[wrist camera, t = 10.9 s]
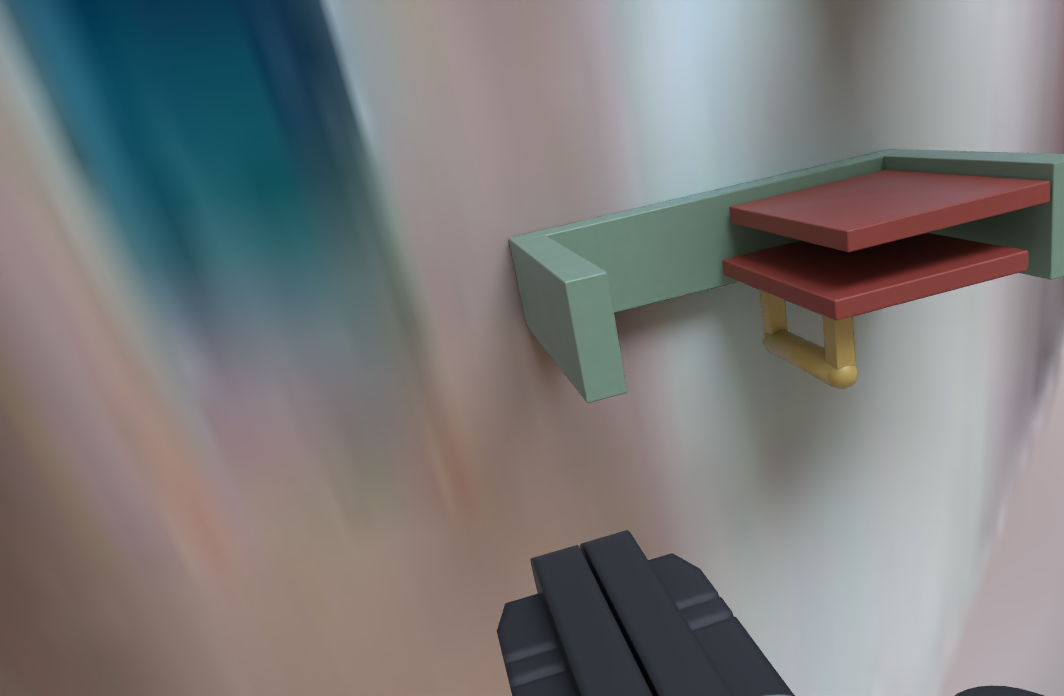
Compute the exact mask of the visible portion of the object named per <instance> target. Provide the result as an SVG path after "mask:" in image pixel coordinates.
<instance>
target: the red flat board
mask: <svg viewBox="0 0 1064 696" xmlns="http://www.w3.org/2000/svg"><path fill="white" fill-rule="evenodd" d="M722 263H723V272H724V275H725V276H727V277H730V278H732V279H735V280H737V281H740V282H742V283H745V284H747V285H749V286H752V287H754V288H757V289H759V290H760V297H761V307H762V317H763V326H764V331H765V334H764V336H763V344H764V346H765V348H766V349H767V350H768V351H770V352H771V353H773V354H775V355H777V356H779V357H780V358H782V359H784V360H786V361H788V362H789V363H791V364H793V365H795V366H797V367H799V368H800V369H802V370H804V371H806V372H808V373H809V374H811V375H813V376H815V377H817V378H818V379H820V380H822V381H824V382H826V383H827V384H829V385H831V386H833V387H835V388H838V389H845V388H848V387H850V386H852V385H853V384H854V383H855V382H856V380H857V377H858V370H857V367H856V366H855V364H856V363H855V347H854V331H853V316H856V315H860V314H864V313H867V312H871V311H875V310H879V309H883V308H886V307H890V306H894V305H898V304H902V303H905V302H909V301H913V300H917V299H921V298H924V297H928V296H932V295H936V294H940V293H943V292H947V291H951V290H955V289H958V288H962V287H966V286H970V285H974V284H977V283H981V282H985V281H989V280H993V279H996V278H1000V277H1004V276H1008V275H1012V274H1015V273H1019V272H1023V271H1027V270H1028V251H1027V250H1021V249H1016V248H1010V247H1005V246H999V245H993V244H988V243H982V242H977V241H971V240H965V239H960V238H954V237H949V236H943V235H938V234H932V233H924V234H920V235H916V236H912V237H908V238H904V239H900V240H896V241H892V242H888V243H884V244H880V245H876V246H872V247H868V248H864V249H860V250H856V251H852V252H845V251H841V250H837V249H833V248H829V247H825V246H821V245H817V244H813V243H809V242H805V241H797V242H793V243H788V244H784V245H780V246H776V247H772V248H768V249H764V250H760V251H756V252H752V253H748V254H744V255H740V256H736V257H732V258H727V259H724V260H722ZM785 300H786V301H789V302H791V303H794V304H796V305H799V306H801V307H804V308H806V309H809V310H811V311H814V312H816V313H818V314H821V315H823V329H824V342H825V348H823V347H821V346H818V345H816V344H814V343H812V342H810V341H808V340H806V339H804V338H802V337H800V336H798V335H795V334H793V333H791V332H789V331H787V321H786V310H785Z"/></svg>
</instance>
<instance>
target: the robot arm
mask: <svg viewBox="0 0 1064 696" xmlns="http://www.w3.org/2000/svg"><path fill="white" fill-rule="evenodd" d="M531 566H532V571H533V575H534V579H535V584H536V588H537V592H538V594H535V595H532V596H529V597H525V598H522V599H519V600H515V601H512V602H509V603H505V606H504V610H503V613H502V616H501V619H500V622H499V626H498V629H497V634H498V638H499V642H500V646H501V651H502V655H503V659H504V663H505V667H506V671H507V675H508V680H509V684H510V688H511V692H512V696H795V695H794V694H793V693H792V692H791V690H790V689H789V688H788V686H787V685H786V684H785V682H784V681H783V680H782V678H781V677H780V675H779V674H778V673H777V671H776V670H775V669H774V667H773V666H772V665H771V663H770V662H769V661H768V659H767V658H766V657H765V655H764V654H763V653H762V651H761V650H760V649H759V647H758V646H757V645H756V643H755V642H754V641H753V639H752V638H751V637H750V635H749V634H748V633H747V631H746V630H745V628H744V627H743V626H742V624H741V623H740V622H739V620H738V619H737V618H736V617H734V616H733V614H732V611H731V610H730V608H729V607H728V606H727V604H726V603H725V602H724V600H723V599H722V598H721V597H719V596H718V592H717V591H716V590H715V588H714V587H713V585H712V584H711V583H710V581H709V580H708V579H707V577H706V576H705V575H704V573H703V572H702V571H701V569H699V568H698V567H696V566H694V565H692V564H690V563H689V562H687V561H685V560H683V559H682V558H680V557H678V556H676V555H674V554H673V553H672V554H668V555H665V556H662V557H658V558H655V559H652V560H647V558H646V556H645V555H644V553H643V552H642V550H641V549H640V547H639V545H638V544H637V542H636V541H635V539H634V538H633V536H632V535H631V533H630V532H629V531H628V530H626V531H623V532H619V533H616V534H612V535H609V536H606V537H602V538H599V539H595V540H592V541H588V542H585V543H582V544H581V545H580V547H579V546H578V545H576V546H572V547H569V548H565V549H562V550H558V551H555V552H552V553H548V554H545V555H541V556H538V557H535V558H531ZM955 696H1043V695H1040V694H1037V693H1034V692H1030V691H1027V690H1022V689H1019V688H1013V687H1006V686H981V687H976V688H971V689H967V690H965V691H963V692H960V693H958V694H957V695H955Z"/></svg>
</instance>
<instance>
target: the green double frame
mask: <svg viewBox="0 0 1064 696" xmlns="http://www.w3.org/2000/svg"><path fill="white" fill-rule="evenodd" d="M924 233H932V234H938V235H943V236H949V237H954V238H960V239H965V240H971V241H977V242H982V243H988V244H993V245H999V246H1005V247H1010V248H1016V249H1021V250H1027V251H1028V270H1027V271H1023V272H1019V273H1022V274H1027V275H1031V276H1036V277H1041V278H1045V279H1050V280H1052V279H1056V278H1059V277H1063V276H1064V154H1042V153H1008V152H973V151H939V150H899V149H890V150H885V151H881V152H877V153H872V154H868V155H864V156H859V157H855V158H851V159H847V160H842V161H838V162H834V163H829V164H825V165H821V166H816V167H812V168H808V169H803V170H799V171H795V172H791V173H786V174H782V175H778V176H773V177H769V178H765V179H760V180H756V181H752V182H747V183H743V184H739V185H735V186H730V187H726V188H722V189H717V190H713V191H709V192H704V193H700V194H696V195H691V196H687V197H683V198H679V199H674V200H670V201H666V202H661V203H657V204H653V205H648V206H644V207H640V208H635V209H631V210H627V211H623V212H618V213H614V214H610V215H605V216H601V217H597V218H592V219H588V220H584V221H579V222H575V223H571V224H567V225H562V226H558V227H554V228H549V229H545V230H541V231H536V232H532V233H528V234H523V235H519V236H515V237H511V238H509V244H510V249H511V254H512V259H513V264H514V268H515V273H516V278H517V283H518V288H519V292H520V297H521V302H522V307H523V312H524V316H525V321H526V325H527V327H528V328H529V329H530V330H531V332H532V333H533V335H534V336H535V337H536V338H537V340H538V341H539V342H540V343H541V345H542V346H543V347H544V349H545V350H546V351H547V352H548V354H549V355H550V356H551V357H552V359H553V360H554V361H555V363H556V364H557V365H558V366H559V368H560V369H561V370H562V372H563V373H564V374H565V375H566V377H567V378H568V379H569V380H570V382H571V383H572V384H573V386H574V387H575V388H576V389H577V391H578V392H579V393H580V395H581V396H582V397H583V398H584V400H585V401H586V402H587V403H590V402H594V401H597V400H601V399H605V398H609V397H612V396H616V395H620V394H624V393H627V387H626V382H625V376H624V370H623V364H622V358H621V352H620V346H619V340H618V334H617V328H616V322H615V316H614V313H616V312H620V311H624V310H628V309H632V308H636V307H640V306H644V305H648V304H652V303H656V302H660V301H664V300H668V299H672V298H676V297H680V296H684V295H688V294H692V293H696V292H700V291H704V290H708V289H712V288H716V287H720V286H724V285H728V284H732V283H736V282H740V281H737V280H735V279H732V278H730V277H727V276H725V275H724V272H723V263H722V260H724V259H727V258H732V257H736V256H740V255H744V254H748V253H752V252H756V251H760V250H764V249H768V248H772V247H776V246H780V245H784V244H788V243H793V242H797V241H805V242H809V243H813V244H817V245H821V246H825V247H829V248H833V249H837V250H841V251H845V252H852V251H856V250H860V249H864V248H868V247H872V246H876V245H880V244H884V243H888V242H892V241H896V240H900V239H904V238H908V237H912V236H916V235H920V234H924Z"/></svg>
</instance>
